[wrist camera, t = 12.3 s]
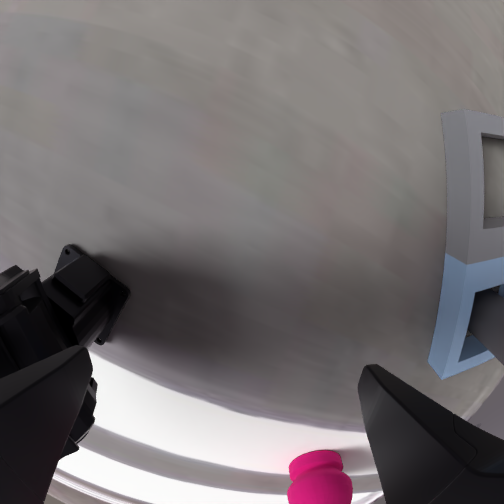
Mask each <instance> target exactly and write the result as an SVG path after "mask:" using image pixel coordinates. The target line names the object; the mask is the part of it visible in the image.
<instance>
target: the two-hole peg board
mask: <svg viewBox="0 0 504 504" xmlns="http://www.w3.org/2000/svg"><path fill="white" fill-rule="evenodd" d="M441 119H442V126H443V135H444V145H445V157H446V173H447V232H446V249H445V262H444V272H443V281H442V288H441V296H440V302H439V309H438V314H437V320H436V325H435V330H434V335H433V340H432V345H431V349H430V353H429V357H428V361H427V362H428V363H429V364H430V365H431V367H432V368H433V369H434V371H435V372H436V373H437V375H438V376H439V377H440V379H441V380H442V379H445V378H448V377H450V376H453V375H455V374H458V373H460V372H463V371H465V370H468V369H470V368H472V367H475V366H477V365H479V364H481V363H484V362H486V361H488V360H490V359H492V358H494V357H495V356H494V355H493V354H492V353H491V352H490V351H489V350H488V349H487V348H486V347H485V346H484V345H483V344H482V343H481V342H480V341H479V340H478V339H477V338H476V337H475V336H474V335H471V336H469V337H466V338H465V336H466V332H467V328H468V324H469V320H470V315H471V311H472V306H473V301H474V296H475V292H478V291H482V290H485V289H488V288H492V287H495V286H498V285H500V287H499V292H498V294H499V295H500V296H502V297H503V298H504V216H502V217H492V218H484V166H483V150H482V139H481V136H483V137H490V138H496V139H503V140H504V117H500V116H496V115H492V114H487V113H482V112H478V111H472V110H467V109H461V110H455V111H450V112H444V113H441Z"/></svg>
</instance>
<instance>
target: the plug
mask: <svg viewBox="0 0 504 504" xmlns="http://www.w3.org/2000/svg"><path fill="white" fill-rule="evenodd" d="M467 330H468V331H469V332H470V333H472V334H473V335H474V336H475V337H476V338H477V339H478V340H479V341H480V342H481V343H482V344H483V345H484V346H485V347H486V348H487V349H488V350H489V351H490V352H491V353H492V354H493V355H494V356H495V357H496V358H497V359H498V360H499V361H500V362H501V363H502V364H503V365H504V298H503V297H502V296H500V295H499V294H497V293H496V292H494V291H493V290H491V289H490V288H488V289H485V290H482V291H478V292H475V296H474V301H473V306H472V311H471V315H470V320H469V324H468V328H467Z"/></svg>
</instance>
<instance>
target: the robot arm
mask: <svg viewBox="0 0 504 504" xmlns="http://www.w3.org/2000/svg"><path fill="white" fill-rule="evenodd" d="M68 249H69V251H70V253H69V252H68ZM121 291H123V292H125V295H123V294H122V292H121ZM129 296H130V290H129V289H128V288H127V287H126V286H125V285H123V284H122V283H121V282H119V281H118V280H116V279H115V278H114V277H112V276H111V275H110V274H109V272H107V271H106V270H104V269H103V268H102V267H101V266H99V265H98V264H97V263H95V262H94V261H93V260H91V259H90V258H89V257H88V256H86V255H83V254H82V253H81V252H80V251H78V250H77V249H76V248H75V247H73V246H72V245H70V244H68V245H66V246H64V248H63V250H62V252H61V255H60V258H59V261H58V263H57V266H56V269H55V272H54V274H53V275H52V276H50V277H49V278H47V279H46V280H44V281H43V282H41V281H40V274H39V272H38V269H35V270H32V271H30V272H29V270H26V271H24V270H22V269H20V268H19V267H18V266H17V265H15V266H12V267H10V268H9V269H7V270H5V271H3V272H2V273H0V504H44V502H43V501H45V498H46V495H47V492H48V489H49V486H50V483H51V480H52V477H53V475H54V472H55V469H56V467H57V464H58V461H59V460H60V459H61V458H63V457H65V456H67V455H69V454H72V453H74V452H76V451H78V450H79V446H78V445H77V443H79V442H80V441H81V440H82V439H83V438H84V437H85V436H86V435H87V434H88V432H89V430H90V428H91V427H92V425H93V424H94V421H95V417H94V416H93V412H94V409H95V406H96V391H97V383H96V381H95V380H94V378H92V377H91V375H92V372H93V366H92V363H91V359H90V356H89V352H88V348H89V347H90V346H91V345H92V343H93V342H95V343H97V344H98V345H103V344H104V343H105V342H106V340H107V338H108V336H109V334H110V332H111V330H112V328H113V326H114V324H115V322H116V320H117V318H118V316H119V315H120V313H121V311H122V309H123V307H124V305H125V303H126V302H127V300H128V298H129ZM99 338H100V339H101V340H100V339H99ZM358 393H359V399H360V404H361V409H362V415H363V420H364V425H365V430H366V433H367V437H368V440H369V443H370V447H371V450H372V453H373V457H374V460H375V464H376V467H377V471H378V474H379V478H380V482H381V485H382V489H383V493H384V496H385V500H386V504H504V440H502V439H500V438H498V437H496V436H493V435H492V434H490V433H488V432H485V431H483V430H482V429H480V428H478V427H476V426H474V425H472V424H470V423H469V422H467V421H465V420H464V419H462V418H460V417H459V416H457V415H456V414H453V413H452V412H451V411H449V410H447V409H446V408H444V407H443V406H441V405H440V404H438V403H436V402H435V401H433V400H432V399H430V398H429V397H427V396H425V395H424V394H422V393H421V392H419V391H418V390H416V389H415V388H413V387H411V386H410V385H408V384H407V383H405V382H404V381H402V380H401V379H399V378H398V377H396V376H394V375H393V374H391V373H390V372H388V371H387V370H385V369H384V368H382V367H381V366H379V365H378V364H371V365H366V366H365V367H364V368H363V371H362V374H361V377H360V380H359V383H358Z"/></svg>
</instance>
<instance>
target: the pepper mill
mask: <svg viewBox="0 0 504 504" xmlns="http://www.w3.org/2000/svg"><path fill="white" fill-rule="evenodd" d="M342 470H343V464H342V460H341V457H340V455H339V454H338V453H336V452H333V451H328V450H322V451H313V452H309V453H306V454H303V455H301V456H299V457H297V458H296V459H294V460H293V461H292V462H291V463H290V465H289V473H290V479H291V480H292V481H293V483H292V484H291V486H290V487H289V489H288V492H287V496H288V501H289V504H351V500H352V492H353V487H352V481H351V479H350V477H349V476H348V475H346V474H345V473H343V472H341V471H342Z"/></svg>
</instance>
